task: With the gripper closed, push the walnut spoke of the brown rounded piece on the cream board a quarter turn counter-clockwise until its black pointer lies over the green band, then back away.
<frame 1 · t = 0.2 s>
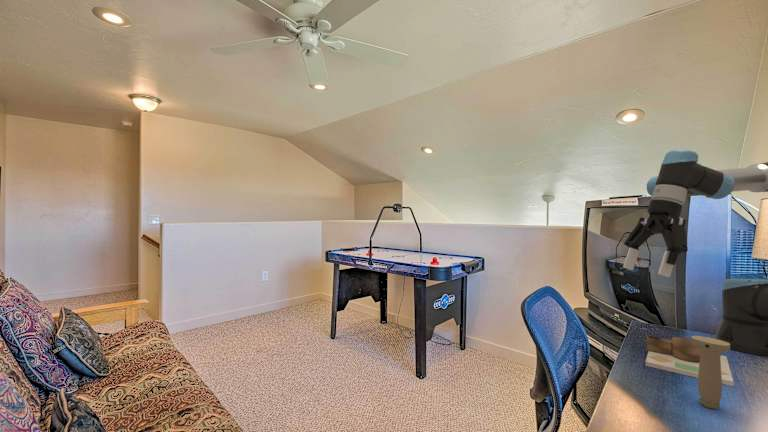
hand: (644, 272, 99), 27 cm above the table, tool tilted 20°, fingers open, 13 cm apart
handle: (709, 406, 79), on the table
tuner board: (686, 362, 102), on the table
brown rounded piece: (673, 346, 105), point 4 cm above the table, hinge at 0.0°
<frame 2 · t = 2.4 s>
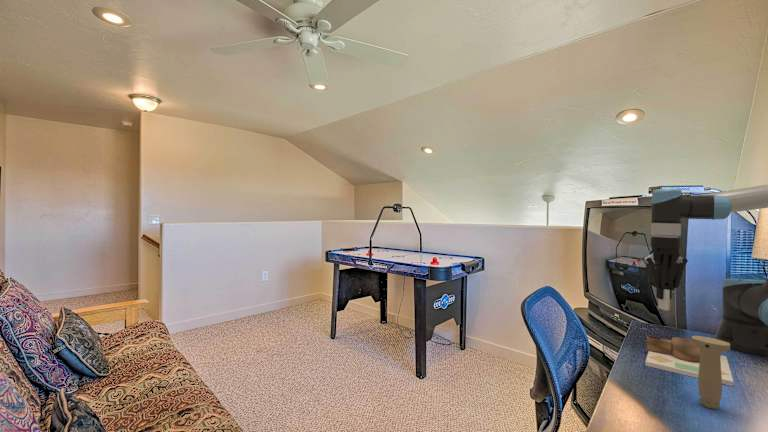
hand: (663, 309, 112), 14 cm above the table, tool pointing down, fingers closed
nothing on the table moved.
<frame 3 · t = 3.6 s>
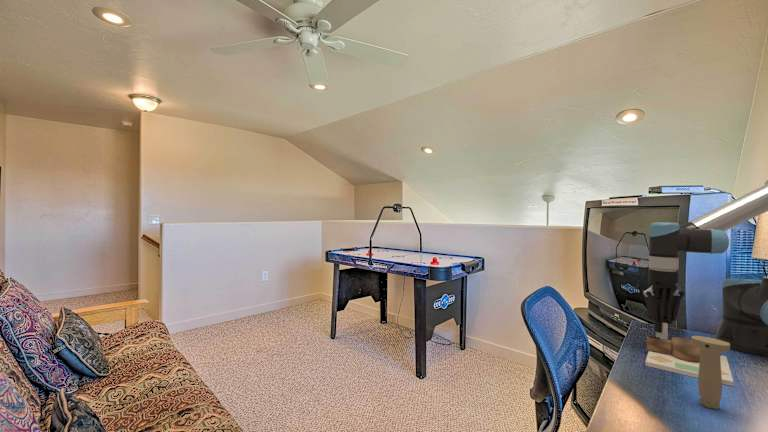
hand: (661, 342, 111), 3 cm above the table, tool pointing down, fingers closed
nothing on the table moved.
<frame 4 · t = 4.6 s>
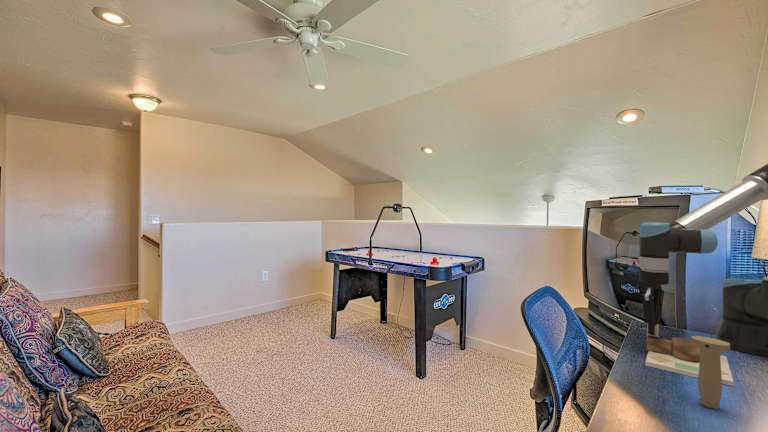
hand: (652, 343, 110), 3 cm above the table, tool pointing down, fingers closed
brown rounded piece: (673, 346, 105), point 4 cm above the table, hinge at 0.0°, touching gripper
everything else where it was.
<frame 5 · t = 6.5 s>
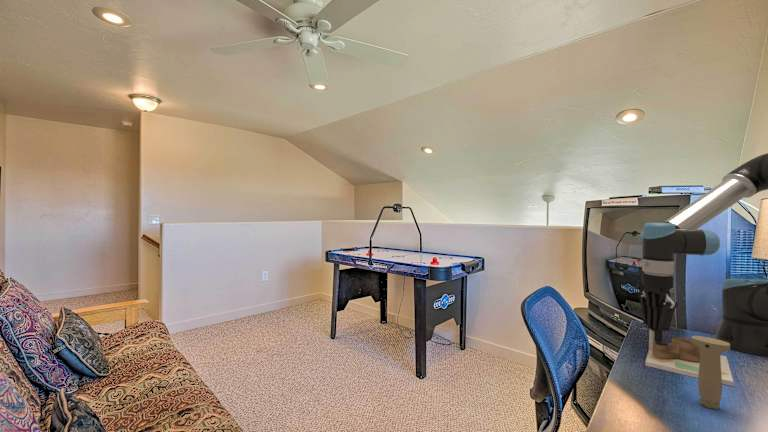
hand: (654, 350, 104), 3 cm above the table, tool pointing down, fingers closed
brown rounded piece: (677, 349, 103), point 4 cm above the table, hinge at 44.3°, touching gripper
everything else where it was.
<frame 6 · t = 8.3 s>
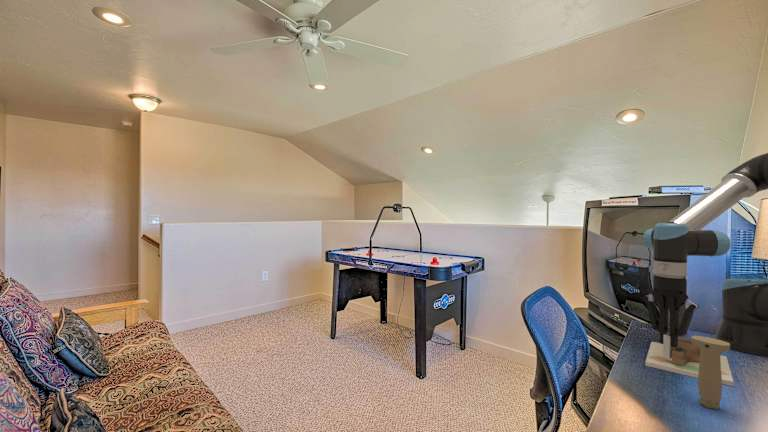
hand: (668, 356, 100), 3 cm above the table, tool pointing down, fingers closed
brown rounded piece: (683, 351, 101), point 4 cm above the table, hinge at 77.7°
everything else where it was.
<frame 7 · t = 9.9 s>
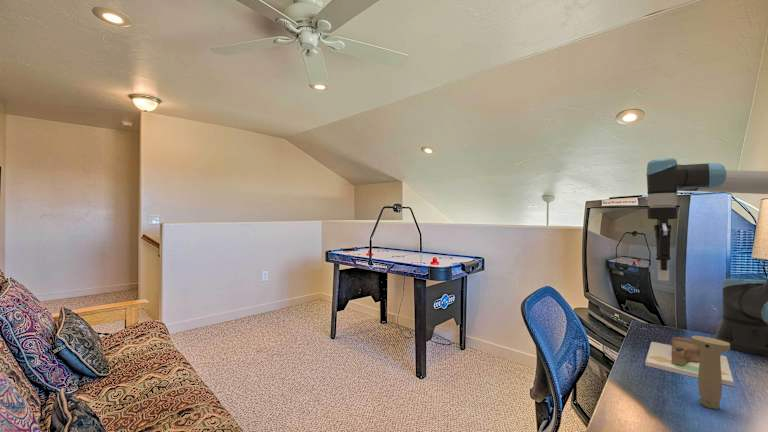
hand: (663, 279, 111), 23 cm above the table, tool pointing down, fingers closed
nothing on the table moved.
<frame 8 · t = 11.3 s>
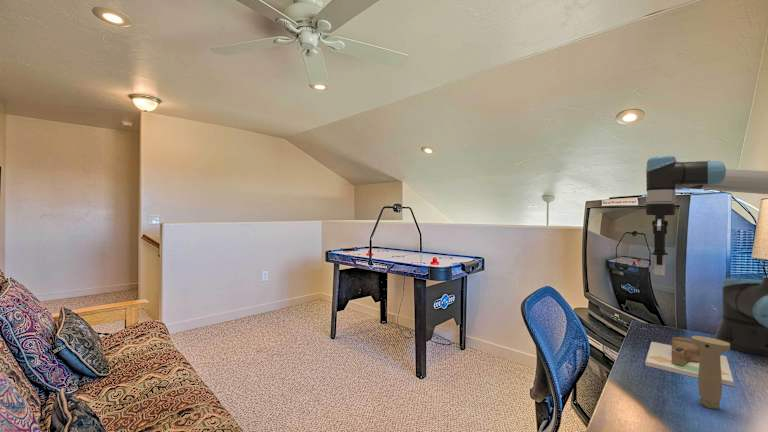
hand: (659, 274, 114), 24 cm above the table, tool pointing down, fingers closed
nothing on the table moved.
at the end: brown rounded piece at +78° (first picture: +0°) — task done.
